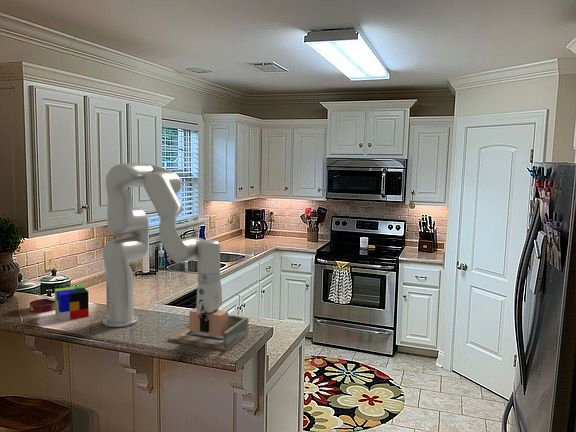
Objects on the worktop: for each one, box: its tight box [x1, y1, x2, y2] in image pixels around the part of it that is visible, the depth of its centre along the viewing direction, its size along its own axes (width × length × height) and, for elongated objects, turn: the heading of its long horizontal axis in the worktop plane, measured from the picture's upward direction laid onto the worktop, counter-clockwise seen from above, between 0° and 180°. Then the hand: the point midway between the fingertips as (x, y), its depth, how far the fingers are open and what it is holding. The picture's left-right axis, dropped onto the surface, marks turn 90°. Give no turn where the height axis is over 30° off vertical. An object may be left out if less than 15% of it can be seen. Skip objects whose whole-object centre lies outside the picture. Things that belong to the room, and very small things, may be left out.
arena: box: [167, 314, 250, 352], centre depth 165 cm, size 22×17×6 cm
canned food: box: [29, 289, 55, 314], centre depth 191 cm, size 11×10×10 cm
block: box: [189, 306, 229, 336], centre depth 162 cm, size 12×5×7 cm, turn 70°
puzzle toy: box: [54, 285, 90, 322], centre depth 184 cm, size 10×10×10 cm
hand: (208, 328), depth 162 cm, fingers closed on block, 5 cm apart
